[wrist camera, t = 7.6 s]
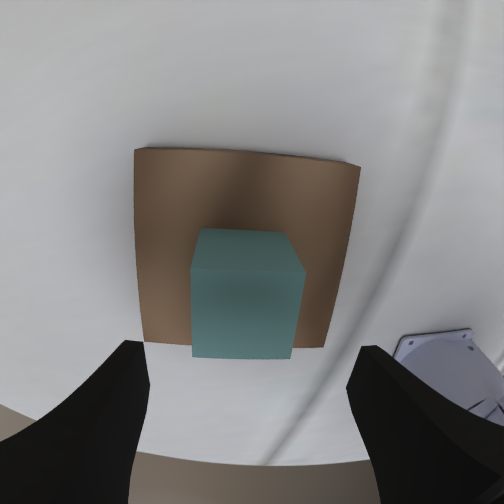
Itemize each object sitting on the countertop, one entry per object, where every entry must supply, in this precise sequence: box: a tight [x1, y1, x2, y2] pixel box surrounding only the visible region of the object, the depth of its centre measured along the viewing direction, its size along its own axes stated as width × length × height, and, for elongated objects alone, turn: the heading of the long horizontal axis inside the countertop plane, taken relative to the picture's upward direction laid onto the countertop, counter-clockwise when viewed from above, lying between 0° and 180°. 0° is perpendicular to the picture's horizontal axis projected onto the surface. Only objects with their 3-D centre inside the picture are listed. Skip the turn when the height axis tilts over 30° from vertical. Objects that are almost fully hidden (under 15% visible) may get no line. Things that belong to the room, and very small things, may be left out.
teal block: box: [191, 228, 306, 359], centre depth 15 cm, size 4×4×5 cm
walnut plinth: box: [134, 147, 361, 348], centre depth 18 cm, size 12×12×2 cm
